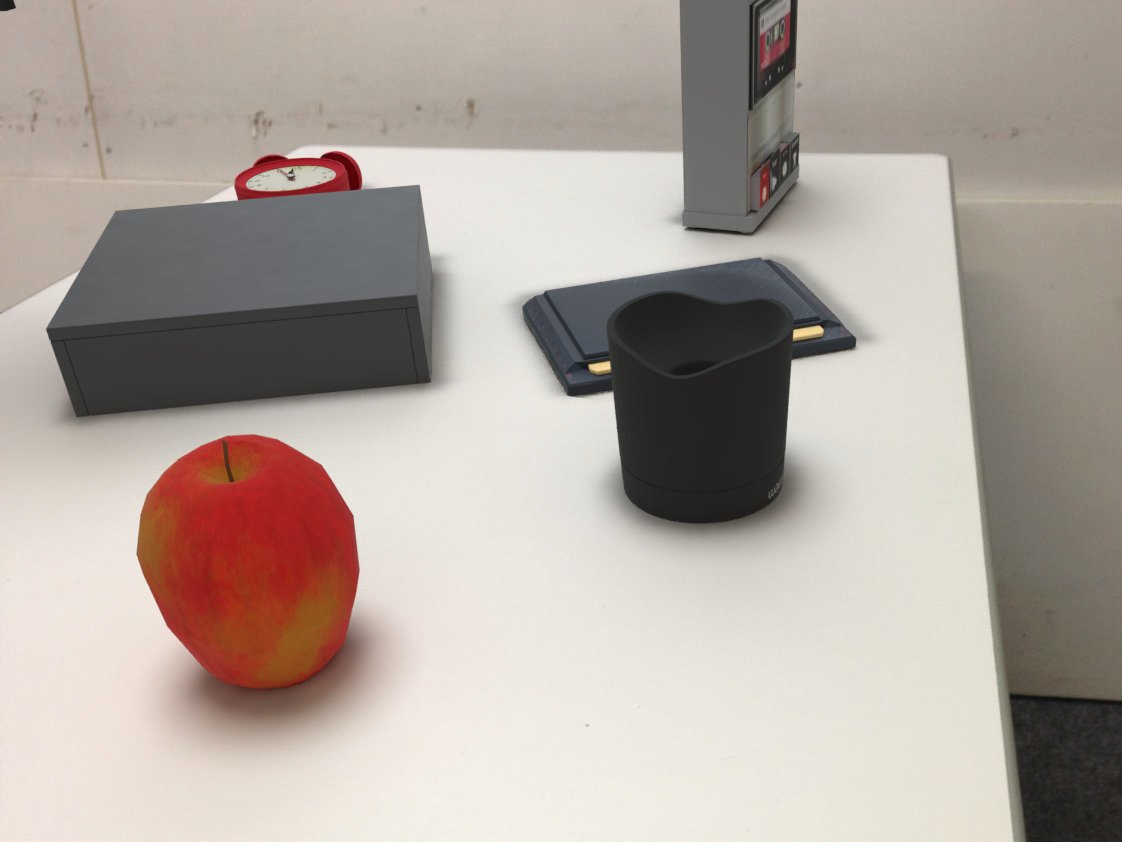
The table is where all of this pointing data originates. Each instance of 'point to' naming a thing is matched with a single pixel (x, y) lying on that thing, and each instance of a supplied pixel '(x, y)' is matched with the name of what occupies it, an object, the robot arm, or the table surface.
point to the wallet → (583, 311)
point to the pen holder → (701, 403)
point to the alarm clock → (298, 176)
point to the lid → (249, 302)
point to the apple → (251, 560)
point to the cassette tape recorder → (737, 110)
